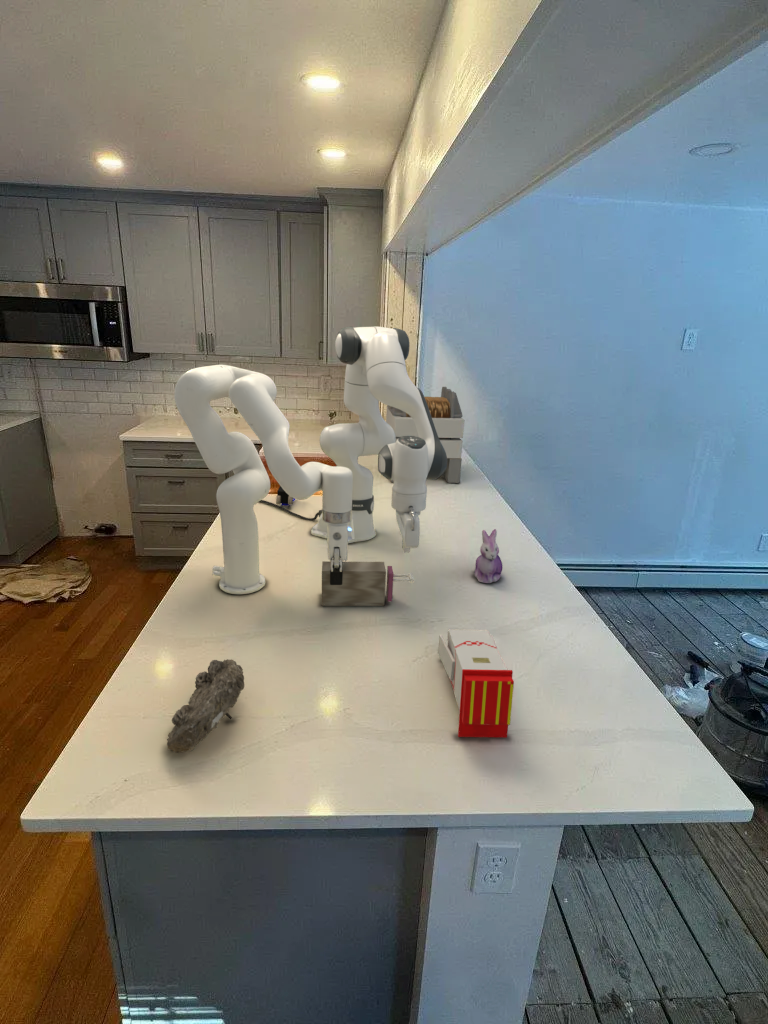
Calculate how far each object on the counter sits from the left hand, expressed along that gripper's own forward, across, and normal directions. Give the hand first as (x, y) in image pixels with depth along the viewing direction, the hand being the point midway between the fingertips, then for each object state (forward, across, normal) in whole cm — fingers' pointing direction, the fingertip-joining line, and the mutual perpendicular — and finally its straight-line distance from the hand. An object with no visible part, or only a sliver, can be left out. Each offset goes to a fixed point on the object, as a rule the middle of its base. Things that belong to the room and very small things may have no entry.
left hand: (336, 578), depth 151 cm
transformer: (+7, +126, -41) cm, 133 cm away
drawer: (+6, 0, -10) cm, 12 cm away
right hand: (-8, 0, -18) cm, 20 cm away
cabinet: (+7, 0, -5) cm, 8 cm away
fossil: (+7, -46, +24) cm, 52 cm away
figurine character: (+7, +78, +19) cm, 80 cm away
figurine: (+7, +14, -46) cm, 48 cm away
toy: (+7, -39, -28) cm, 49 cm away
